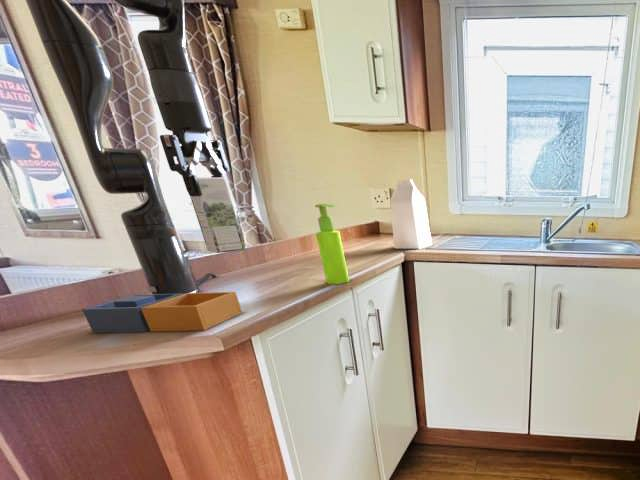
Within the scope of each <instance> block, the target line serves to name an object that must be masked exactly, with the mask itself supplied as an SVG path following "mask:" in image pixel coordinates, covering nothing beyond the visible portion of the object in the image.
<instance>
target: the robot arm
mask: <svg viewBox="0 0 640 480" xmlns="http://www.w3.org/2000/svg"><path fill="white" fill-rule="evenodd" d="M113 1H114V2H115V4H116V3H117V4H118V5H120V6H121V7H123V8H125V9H127V10H130V11H132V12H135V13H140V14H142V15H147V16H151V17H155V18H157V20H158V23H159V25H158V29H144V30H140V31H139V32H138V34H137V42H138V46H139V49H140V51H141V54H142V57H143V61H144V63H145V66H146V70H147V73H148V77H149V81H150V85H151V89H152V92H153V95H154V99H155V101H156V104H157V107H158V110H159V113H160V116H161V119H162V122H163V125H164V128H165V129H166V130H167V131H170V132H172V134H160V135H159V140H160V142H161V145H162V149H163V152H164V155H165V158H166V161H167V164H168V167H169V169H170V171H171V172H176V173H178V174H179V175H180V176H181V177H182V181H183V182H184V186H185V188H186V191H187V193H188V195H189V197H190V196H202V192H201V189H200V186H199V183H198V180H197V178H198V177H197V175H196V174H195V173H196V166H198V165H199V163H200V165H202V167H205V168H206V170H207V171H208V172H209V173H210V175H211V177H210V178H214V177H220V178H224V179H225V175H226V173H229V172H230V166H229V164H228V160H227V157H226V153H225V151H224V147H223V144H222V141H221V140H219V139H210V137H209V134H208V133H209V132H211V131H212V126H211V122H210V119H209V116H208V115H209V114H208V111H207V109H206V105H205V102H204V101H205V100H204V98H203V95H202V91H201V89H200V86H199V84H198V81H197V79H196V76H195V73H194V70H193V67H192V63H191V60H190V55H189V53H188V50H187V49H188V48H187V35H186V22H185V21H186V20H185V19H186V16H185V15H186V13H185V11H186V10H185V9H186V8H185V2H184V0H113ZM25 2H26V5H27V7H28V9H29V12H30V15H31V17H32V20H33V23H34V25H35V28H36V30H37V34H38V36H39V38H40V41H41V43H42V46H43V49H44V51H45V53H46V56H47V58H48V60H49V63H50V65H51V67H52V69H53V72H54V74H55V76H56V79H57V81H58V82H59V85H60V87H61V90H62V91H63V94H64V96H65V99H66V101H67V103H68V105H69V108H70V110H71V112H72V115H73V118H74V120H75V124H76V126H77V129H78V132H79V135H80V137H81V141H82V143H83V146H84V149H85V151H86V154H87V157H88V160H89V163H90V167H91V168H92V171H93V173H94V176H95V178H96V180H97V182H98V184H99V185H100V187H101V188H102V190H103V191H105V192H106V193H107V194H110V195H123V194H124V195H125V194H127V195H128V194H145V195H146V198H145V200H144V201H143V202H142V203H140V204H139V205H138V206H135V207H133V208H130V209H127V210H125V211H123V212H121V214H120V217H121V221H122V223H123V226H124V228H125V230H126V233H127V235H128V238H129V240H130V242H131V245H132V247H133V250H134V252H135V254H136V258H137V260H138V262H139V265H140V267H141V269H142V272H143V274H144V278H145V280H146V282H147V284H148V285H146V288H147V291H148V292H151V294H178V293H182V294H186V293H199V292H200V290H201V289H200V286H199V285H200V284H201V283H203V282H205V281H207V280H208V279H209V278H211V277H212V278H213V279H216V278H218V276H217V275H216V274H215V273H213V272H209V273H206V274H205V275H204V276H203V277H201V278H199V279H196V278H197V277H196V275H195V273H194V270H193V267H192V265H191V262H190V259H189V256H188V254H186V253H185V252H184V250H183V247H182V244H181V242H180V239H179V236H178V234H177V231H176V228H175V225H174V222H173V220H172V217H171V215H170V212H169V210H168V207H167V204H166V201H165V198H164V195H163V192H162V188H161V184H160V181H159V178H158V174H157V171H156V167H155V165H154V163H153V161H152V159H151V157H150V156H149V153H147V152H146V151H145V150H144V149H142V148H134V147H133V148H131V147H130V148H128V147H104V145H103V137H102V127H103V121H104V115H105V112H106V109H107V106H108V103H109V101H110V98H111V95H112V91H113V87H114V74H113V71H112V69H111V66H110V64H109V60H108V57H107V56H106V53H105V50H104V46H103V45H102V42H101V40H100V38H99V37H98V36H97V34H96V33H95V31H94V30H93V29H92V27H91V26H90V25H89V24H88V22H87V21H86V20H85V19H84V18H83V17H82V16H81V15H80V13H79V12H78V11H77V10H76V9H75V8H74V6H72V5H71V4H70V2H69V1H68V0H25ZM175 157H176V161H177V163H176V161H175ZM220 162H221V164H220ZM225 180H226V179H225Z"/></svg>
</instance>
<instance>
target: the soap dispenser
mask: <svg viewBox="0 0 640 480" xmlns="http://www.w3.org/2000/svg"><path fill="white" fill-rule="evenodd" d="M314 206H315V208H318V209H319V214H320V216H319V217H318V218H317V221H318V226H319V231H317V232H315V235H316V241H317V246H318V250H319V254H320V258H321V262H322V267H323V272H324V276H325V281H326V284H328V285H340V284H346V283H349V282H350V277H349V272H348V268H347V261H346V258H345V251H344V247H343V243H342V238H341V232H340V230H335V227H334V223H333V218H332V217H331V216H330V215H328V210H327V207H328V208H335V206H336V205H335V204H332V203H318V204H315V205H314Z"/></svg>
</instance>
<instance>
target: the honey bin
mask: <svg viewBox="0 0 640 480" xmlns="http://www.w3.org/2000/svg"><path fill="white" fill-rule="evenodd" d="M141 309H142V312H143V314H144V316H145V319H146V321H147V323H148V326H149V328H150V330H149V331H150V332H186V331H206V330H208V329H210V328H212V327H215V326H217V325H219V324H221V323H224V322H226V321H228V320H231V319H232V318H234V317H237V316H239V315H242V314H243V311H242V308H241V305H240V302H239V299H238V295H237V292H236V291H217V292H216V291H214V292H197V293H186V294H183V295H180V296H177V297H174V298H170V299H167V300H164V301H161V302H158V303H155V304H152V305H148V306H145V307H142V308H141Z"/></svg>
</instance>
